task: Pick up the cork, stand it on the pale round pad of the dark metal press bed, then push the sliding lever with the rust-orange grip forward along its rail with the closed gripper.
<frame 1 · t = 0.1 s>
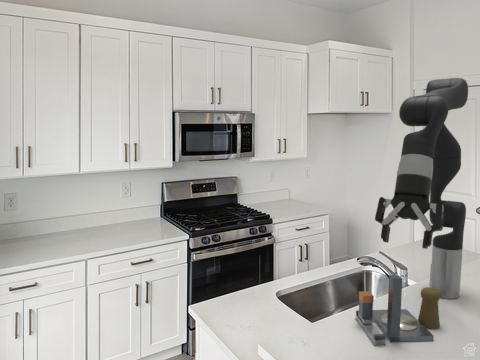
hand: (404, 245, 87), 31 cm above the countertop, tool tilted 20°, fingers open, 8 cm apart
press bed: (398, 326, 113), on the countertop
lever rail: (369, 331, 111), on the countertop
lever: (365, 306, 113), point 6 cm above the countertop, slide at 0.0 cm
cork: (428, 325, 114), on the countertop
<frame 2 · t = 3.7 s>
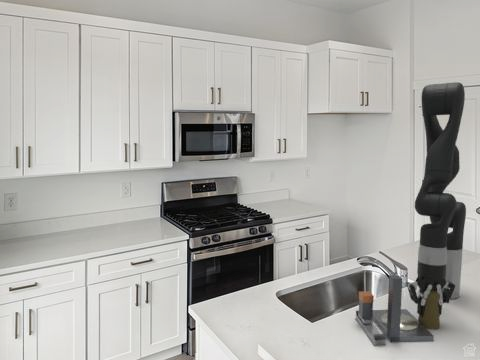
hand: (429, 315, 114), 3 cm above the countertop, tool pointing down, fingers closed on cork, 4 cm apart
cork: (428, 325, 114), on the countertop, touching gripper
everything else where it was.
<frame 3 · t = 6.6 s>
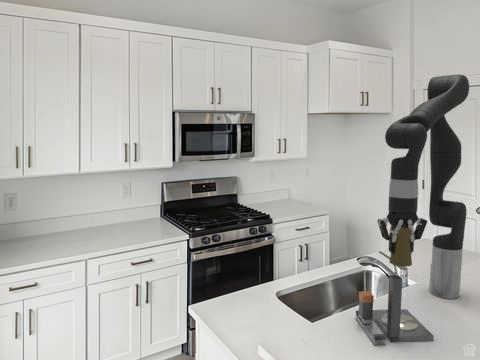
hand: (400, 253, 110), 22 cm above the countertop, tool pointing down, fingers closed on cork, 4 cm apart
cork: (400, 263, 111), point 19 cm above the countertop, touching gripper
everything else where it was.
when the fingers open (6 cm above the countertop, at t = 9.8 s): cork drops 1 cm, resting on press bed.
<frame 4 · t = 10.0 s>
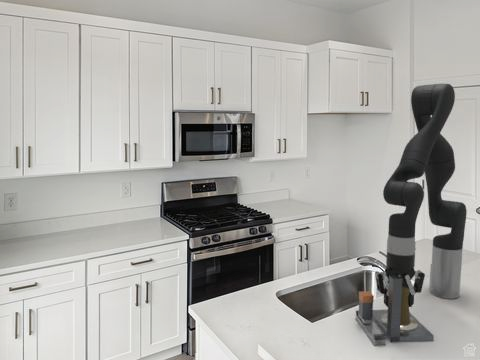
hand: (398, 305, 112), 6 cm above the countertop, tool pointing down, fingers open, 5 cm apart
cork: (399, 321, 113), point 2 cm above the countertop, touching gripper, press bed
everything else where it was.
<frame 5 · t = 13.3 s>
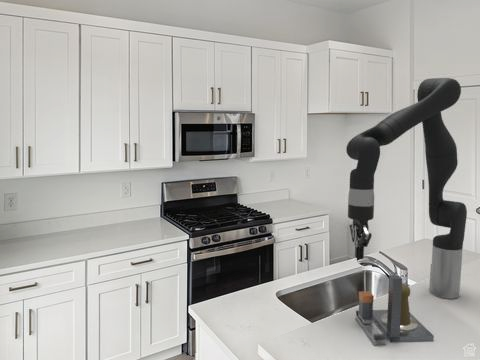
hand: (359, 258, 119), 18 cm above the countertop, tool pointing down, fingers closed
cork: (399, 321, 113), point 2 cm above the countertop, touching press bed
everything else where it was.
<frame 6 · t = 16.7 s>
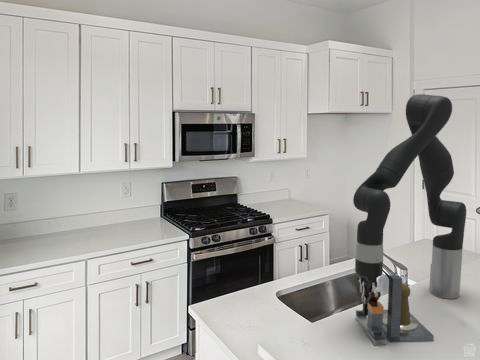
hand: (367, 314, 112), 4 cm above the countertop, tool pointing down, fingers closed
lever: (375, 318, 106), point 6 cm above the countertop, slide at 7.1 cm, touching hand
everything else where it was.
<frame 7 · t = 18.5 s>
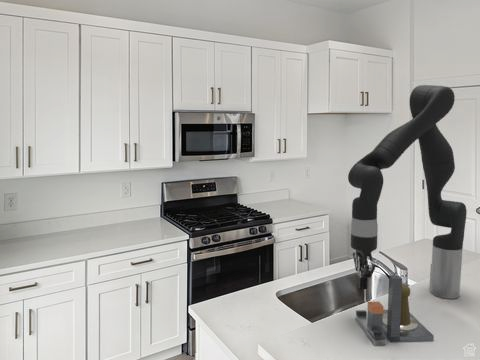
hand: (362, 288, 116), 10 cm above the countertop, tool pointing down, fingers closed
lever: (375, 317, 106), point 6 cm above the countertop, slide at 7.0 cm
everything else where it was.
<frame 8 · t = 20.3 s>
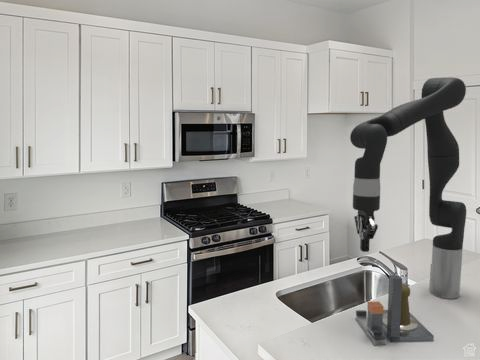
hand: (364, 250, 114), 22 cm above the countertop, tool pointing down, fingers closed
nothing on the countertop moved.
at the end: cork inside the target area on the press bed (0.1 cm from its centre), point 1.7 cm above the press bed's base; cork tilted 0°; lever slide at 7.0 cm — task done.
